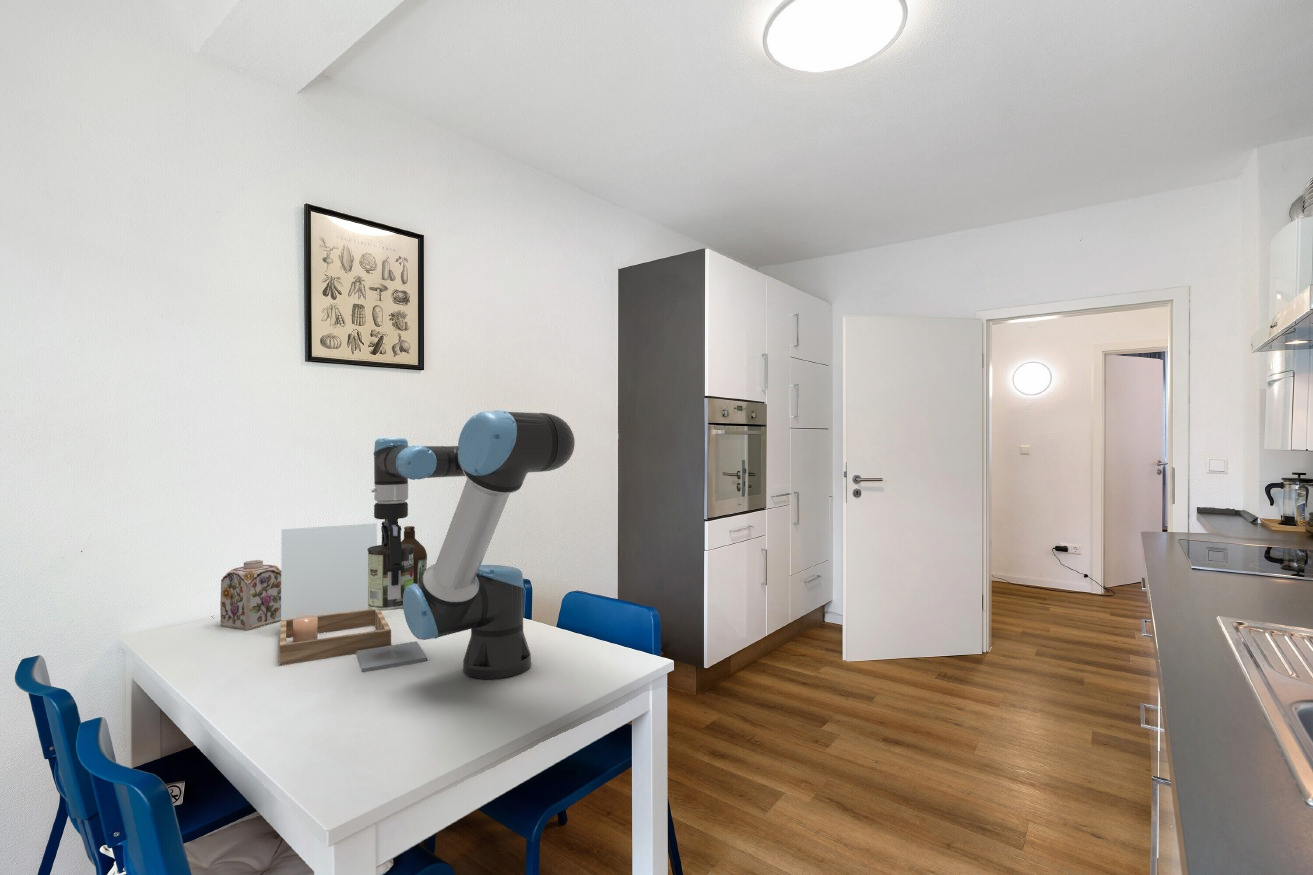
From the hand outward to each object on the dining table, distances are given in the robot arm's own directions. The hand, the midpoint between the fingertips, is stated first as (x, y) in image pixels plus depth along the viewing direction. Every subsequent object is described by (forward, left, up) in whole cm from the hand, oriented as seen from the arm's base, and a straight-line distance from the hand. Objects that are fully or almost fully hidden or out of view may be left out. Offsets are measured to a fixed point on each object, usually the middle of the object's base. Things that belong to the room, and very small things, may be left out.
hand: (391, 593), depth 148 cm
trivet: (0, 0, -15) cm, 15 cm away
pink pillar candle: (+25, +17, -15) cm, 34 cm away
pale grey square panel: (+35, +11, +1) cm, 37 cm away
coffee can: (0, 0, -3) cm, 3 cm away
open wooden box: (+20, +11, -15) cm, 27 cm away
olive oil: (+50, -12, -15) cm, 54 cm away
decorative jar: (+52, +30, -16) cm, 62 cm away
